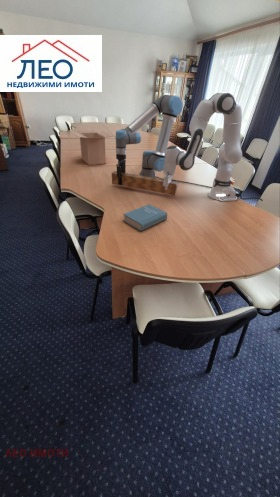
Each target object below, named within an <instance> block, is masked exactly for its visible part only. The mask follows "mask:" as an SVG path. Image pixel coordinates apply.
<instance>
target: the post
mask: <svg viewBox="0 0 280 497" xmlns="http://www.w3.org/2000/svg"><path fill="white" fill-rule="evenodd" d="M121 177H122V185H120V186H122V187H128V188H133V189H138V190H143V191H149V192H154V193H160V194H165V195H170V196H176V194H177V190H178V187H179V186H178V185H179V181H172V180H171V182H170V183H169V185H168V189H167V190H165V186H163V179H164V178H161V179H159V178H151V177H146V176H140V174H139V175H138V174H133V173H128V172H126V173H122V172H121ZM111 184H112V185H116V186H119V185H118V177H117V170H114V171H112V172H111Z"/></svg>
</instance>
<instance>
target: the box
mask: <svg viewBox="0 0 280 497" xmlns="http://www.w3.org/2000/svg"><path fill="white" fill-rule="evenodd" d="M70 133H71V134H72V135H74V136H75V137H77V138H79V144H80V153H81V160H83V162H85V163H86V165H87V166H95V165H97V166H98V165H106V163H107V162H106V158H107V157H106V138H113V137H114V136H113V135H111V134H109V133H108V132H105V131H98V132H96V131H95V130H92V129H91V130H77V132H76V131H70Z"/></svg>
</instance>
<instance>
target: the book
mask: <svg viewBox="0 0 280 497" xmlns="http://www.w3.org/2000/svg"><path fill="white" fill-rule="evenodd" d="M167 219H168V212H167V211H164V210H162V209H161V208H158V207H156V206H153V205H152V204H150V203H148V204H146V205H143V206H140V207H138V208H135V209H132V210H130V211H127V212H125V213H123V220H122V221H123V222H124V223H126V224H128V225H129V226H130V227H132V228H134V229H135V230H138V231H139V232H142V231H144V230H147V229H148V228H151V227H152V226H155V225H157V224H159V223H161V222H164V221H166V220H167Z"/></svg>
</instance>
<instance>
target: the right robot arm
mask: <svg viewBox="0 0 280 497" xmlns="http://www.w3.org/2000/svg"><path fill="white" fill-rule="evenodd" d="M242 111H243V109H242V105H241V104H240V103H239V102H236V99H235V97H234V95H233V94H232V93H230V92H223V91H221V92H216V93H214V94H213V95H212V96H211V97H209V99H202V100H201V101H200V102H199V103H198V105H197V107H196V109H195V110H194V112H193V114H192V117H191V119H190V122H189V125H188V126H189V132H190V142H189V145H188V147H187V150H186V151H185V150H183V149H181V148H180V147H178V146H177V145H169V146H167V149H166V153H165V163H164V169H163V171H162V172H163V173H164V175H163V179H164V180H163V186H165V190H167V189H168V185H169V183H170V182H171V181H172V180H174V176H175V174H176V169H177V166H179V168H180V169H181V170H182V171H189V170H191V169H192V168H193V167H194V165H195V159H196V155H197V152H198V150H199V148H200V145H201V142H202V139H203V136H204V133H205V130H206V129H207V126H208V124H209V122H210V120H211V118H212V116H213V115H214V114H215V113H216V114H222V115H223V125H222V138H223V143H222V144H221V145H220V146H219V148H218V159H217V160H218V162H217V170H216V173H215V177H214V179H213V181H212V186H211V187H212V188H210V191H209V193H208V197H209V198H210V199H212V200H215V201H219V202H232V201H233V202H234V201H238V197H239V198H240V200H242V201H243V200H251V199H252V200H253V199H254V200H256V199H257V200H260V201H261V202H263V199H262V198H261V197H254V196H251V197H244V198H243V197H242V196H243V195H242V194H241V193H239V191H236V190H235V188H234V187H233V185H234V184H235V182H234V181H232V180H231V178H232V174H233V171H234V166H233V165H235V164H237V163H239V162H240V161H241V160H242V159H243V151H242V144H241V142H242V141H241V130H242V118H243V117H242V116H243V112H242Z"/></svg>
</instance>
